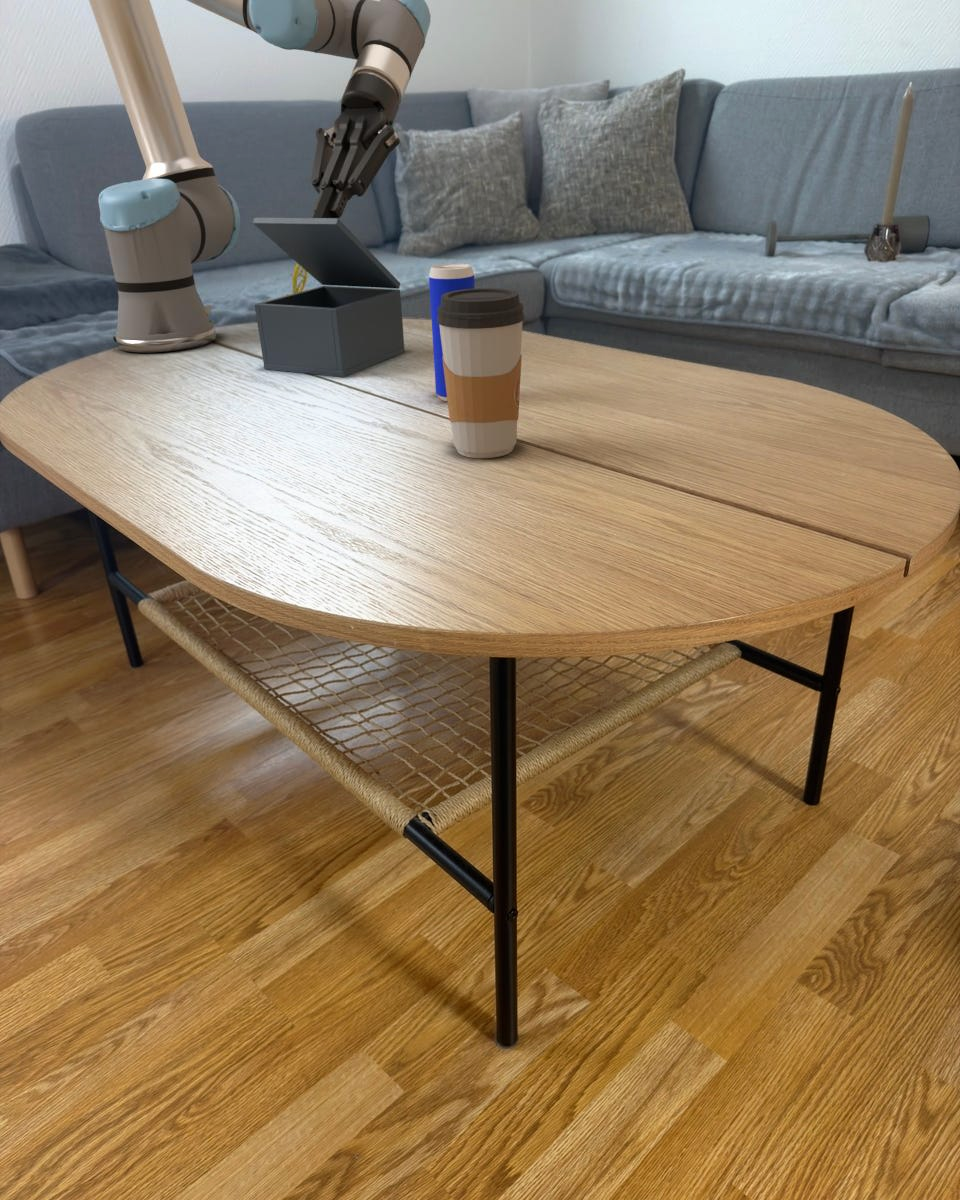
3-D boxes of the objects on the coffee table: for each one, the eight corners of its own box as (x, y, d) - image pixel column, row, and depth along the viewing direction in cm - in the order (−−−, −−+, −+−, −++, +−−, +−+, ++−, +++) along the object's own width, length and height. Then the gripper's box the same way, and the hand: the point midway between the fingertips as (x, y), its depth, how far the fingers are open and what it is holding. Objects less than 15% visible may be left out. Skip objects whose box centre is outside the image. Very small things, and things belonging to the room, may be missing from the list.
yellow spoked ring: (302, 362, 147) (262, 323, 139) (291, 360, 149) (250, 321, 141) (341, 300, 149) (304, 259, 141) (330, 299, 151) (292, 257, 143)
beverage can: (485, 393, 107) (481, 263, 100) (467, 404, 103) (461, 270, 95) (448, 389, 109) (441, 262, 102) (428, 400, 105) (420, 269, 97)
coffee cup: (527, 461, 84) (525, 301, 77) (441, 463, 85) (432, 304, 78) (524, 434, 92) (523, 285, 85) (446, 436, 92) (438, 288, 85)
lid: (336, 224, 109) (338, 218, 109) (252, 223, 115) (254, 217, 115) (399, 288, 124) (400, 283, 124) (322, 285, 130) (323, 279, 130)
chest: (343, 377, 116) (335, 309, 112) (264, 369, 122) (254, 304, 118) (404, 351, 128) (400, 289, 124) (330, 345, 134) (323, 285, 130)
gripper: (426, 112, 122) (371, 254, 117) (349, 116, 127) (294, 252, 122) (403, 66, 115) (344, 215, 110) (323, 73, 121) (264, 215, 116)
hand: (318, 235), depth 116 cm, fingers closed
